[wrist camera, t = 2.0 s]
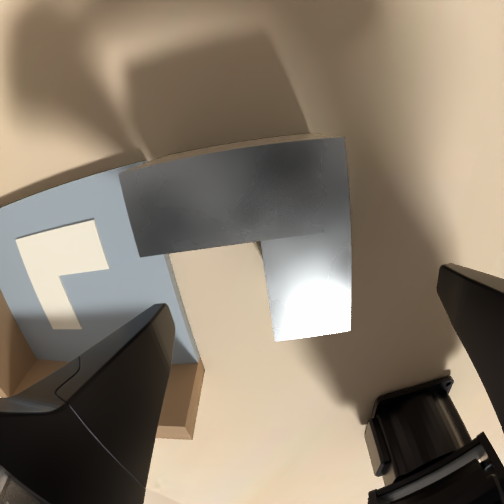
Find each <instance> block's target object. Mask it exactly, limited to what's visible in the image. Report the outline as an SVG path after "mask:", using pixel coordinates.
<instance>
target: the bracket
mask: <svg viewBox="0 0 504 504" xmlns="http://www.w3.org/2000/svg"><path fill="white" fill-rule="evenodd" d="M118 176H119V180H120V184H121V189H122V193H123V197H124V201H125V205H126V209H127V213H128V217H129V221H130V224H131V228H132V232H133V235H134V239H135V242H136V246H137V249H138V253H139V256H140V258H141V257H148V256H155V255H162V254H169V253H176V252H183V251H190V250H198V249H205V248H212V247H220V246H227V245H234V244H242V243H249V242H257V241H260V242H261V249H262V256H263V263H264V270H265V277H266V283H267V290H268V297H269V304H270V311H271V318H272V325H273V333H274V340H275V342H276V341H284V340H292V339H299V338H306V337H313V336H320V335H326V334H332V333H338V332H344V331H350V322H351V284H352V255H351V218H350V197H349V182H348V169H347V157H346V147H345V137H340V136H332V135H323V134H313V133H308V134H297V135H288V136H279V137H271V138H263V139H256V140H249V141H242V142H236V143H229V144H223V145H218V146H212V147H206V148H201V149H196V150H191V151H186V152H181V153H176V154H172V155H167V156H164V157H161V158H159V159H156V160H153V161H150V162H147V163H145V164H142V165H139V166H137V167H134V168H131V169H129V170H126V171H123V172H121V173H118Z"/></svg>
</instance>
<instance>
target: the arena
mask: <svg viewBox="0 0 504 504" xmlns="http://www.w3.org/2000/svg"><path fill="white" fill-rule="evenodd" d="M145 163H147V160H146V161H141V162H137V163H134V164H130V165H126V166H122V167H118V168H115V169H111V170H108V171H104V172H101V173H97V174H94V175H90V176H87V177H84V178H81V179H78V180H74V181H71V182H68V183H65V184H62V185H59V186H56V187H53V188H51V189H48V190H45V191H42V192H39V193H37V194H34V195H31V196H29V197H26V198H23V199H21V200H18V201H16V202H13V203H11V204H8V205H6V206H4V207H1V208H0V397H1V398H6V397H11V396H14V395H16V394H18V393H20V392H22V391H23V390H25V389H27V388H28V387H30V386H32V385H33V384H35V383H37V382H38V381H40V380H42V379H43V378H45V377H47V376H48V375H50V374H52V373H53V372H55V371H57V370H58V369H60V368H61V367H63V366H64V365H66V364H67V363H69V362H70V361H72V360H73V359H75V358H76V357H77V356H80V355H81V354H82V353H83V352H85V351H86V350H88V349H89V348H91V347H92V346H94V345H95V344H96V343H98V342H99V341H101V340H102V339H104V338H105V337H107V336H108V335H110V334H111V333H113V332H114V331H115V330H117V329H118V328H120V327H121V326H123V325H124V324H126V323H127V322H129V321H130V320H132V319H133V318H135V317H136V316H137V315H139V314H140V313H142V312H143V311H145V310H146V309H148V308H149V307H151V306H152V305H154V304H158V303H166V304H168V306H169V308H170V311H171V314H172V317H173V320H174V323H175V339H174V347H173V355H172V364H171V370H170V375H169V379H168V384H167V388H166V392H165V397H164V401H163V405H162V410H161V414H160V419H159V424H158V428H157V433H156V438H167V439H188V440H193V434H194V428H195V422H196V416H197V411H198V405H199V399H200V394H201V388H202V383H203V377H204V372H205V369H204V367H203V364H202V361H201V358H200V355H199V352H198V349H197V346H196V343H195V340H194V337H193V334H192V331H191V328H190V325H189V322H188V319H187V316H186V313H185V309H184V306H183V303H182V300H181V296H180V293H179V289H178V286H177V283H176V279H175V276H174V272H173V269H172V265H171V261H170V258H169V254H162V255H155V256H148V257H141V258H140V256H139V253H138V249H137V246H136V242H135V239H134V235H133V232H132V228H131V224H130V221H129V217H128V213H127V209H126V205H125V201H124V197H123V193H122V189H121V184H120V180H119V176H118V173H121V172H123V171H126V170H129V169H131V168H134V167H137V166H139V165H142V164H145Z"/></svg>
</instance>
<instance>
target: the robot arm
mask: <svg viewBox="0 0 504 504" xmlns="http://www.w3.org/2000/svg"><path fill="white" fill-rule="evenodd" d="M437 293H438V295H439V297H440V300H441V302H442V304H443V306H444V308H445V310H446V312H447V314H448V317H449V319H450V321H451V323H452V325H453V327H454V329H455V331H456V333H457V335H458V337H459V338H460V340H461V342H462V344H463V346H464V347H465V349H466V351H467V353H468V355H469V357H470V359H471V361H472V363H473V365H474V367H475V369H476V371H477V373H478V375H479V377H480V379H481V381H482V383H483V385H484V387H485V389H486V392H487V394H488V396H489V398H490V400H491V403H492V405H493V407H494V410H495V412H496V415H497V417H498V419H499V422H500V424H501V426H502V430H503V433H504V279H502V278H499V277H495V276H492V275H489V274H486V273H483V272H479V271H476V270H473V269H469V268H466V267H463V266H459V265H456V264H452V263H448V264H443V265H441V266H440V269H439V275H438V282H437ZM174 339H175V323H174V320H173V317H172V314H171V311H170V308H169V306H168V304H166V303H158V304H154V305H152V306H151V307H149V308H148V309H146V310H145V311H143V312H142V313H140V314H139V315H137V316H136V317H135V318H133V319H132V320H130V321H129V322H127V323H126V324H124V325H123V326H121V327H120V328H118V329H117V330H115V331H114V332H113V333H111V334H110V335H108V336H107V337H105V338H104V339H102V340H101V341H99V342H98V343H96V344H95V345H94V346H92V347H91V348H89V349H88V350H86V351H85V352H83V353H82V354H81V355H80V356H77V357H76V358H75V359H73V360H72V361H70V362H69V363H67V364H66V365H64V366H63V367H61V368H60V369H58V370H57V371H55V372H53V373H52V374H50V375H48V376H47V377H45V378H43V379H42V380H40V381H38V382H37V383H35V384H33V385H32V386H30V387H28V388H27V389H25V390H23V391H22V392H20V393H18V394H16V395H14V396H11V397H6V398H0V504H143V503H144V496H145V491H146V489H145V488H146V484H147V479H148V473H149V468H150V463H151V458H152V453H153V448H154V443H155V438H156V433H157V428H158V424H159V419H160V414H161V410H162V405H163V401H164V397H165V392H166V388H167V384H168V379H169V375H170V370H171V364H172V355H173V347H174ZM453 382H454V380H453V379H452V377H451V376H447V377H444V378H441V379H438V380H435V381H432V382H429V383H426V384H423V385H420V386H416V387H413V388H410V389H406V390H402V391H399V392H395V393H391V394H387V395H383V396H381V397H379V398H378V399H377V400H376V402H375V406H374V410H373V414H372V418H371V419H370V420H369V421H368V425H367V429H366V433H365V440H366V444H367V447H368V451H369V455H370V459H371V463H372V467H373V471H374V474H375V476H377V477H379V476H383V480H384V484H385V487H383V488H380V489H378V490H377V489H375V490H372V491H370V492H369V493H368V494H369V498H368V504H504V466H503V464H502V463H501V461H500V459H499V457H498V456H497V454H496V452H495V450H494V449H493V447H492V445H491V443H490V442H489V440H488V438H487V437H486V435H485V433H484V432H482V433H480V434H479V435H477V437H476V438H475V439H473V440H472V439H471V437H470V435H469V433H468V431H467V429H466V427H465V425H464V423H463V421H462V419H461V417H460V415H459V413H458V411H457V410H456V408H455V406H454V404H453V402H452V400H451V398H450V396H449V395H448V394H449V391H450V389H451V387H452V384H453ZM479 459H481V462H480V463H479V461H478V460H479Z"/></svg>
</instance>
